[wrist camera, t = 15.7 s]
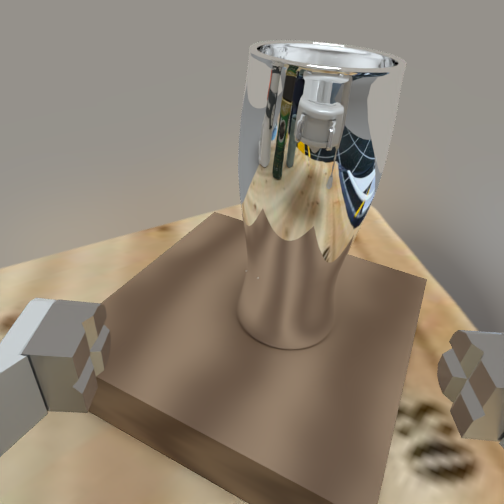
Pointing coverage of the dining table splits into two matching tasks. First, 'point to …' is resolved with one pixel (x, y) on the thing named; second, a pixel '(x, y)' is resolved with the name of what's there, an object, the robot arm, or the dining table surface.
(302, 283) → the beer glass
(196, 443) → the walnut base
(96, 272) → the dining table surface
